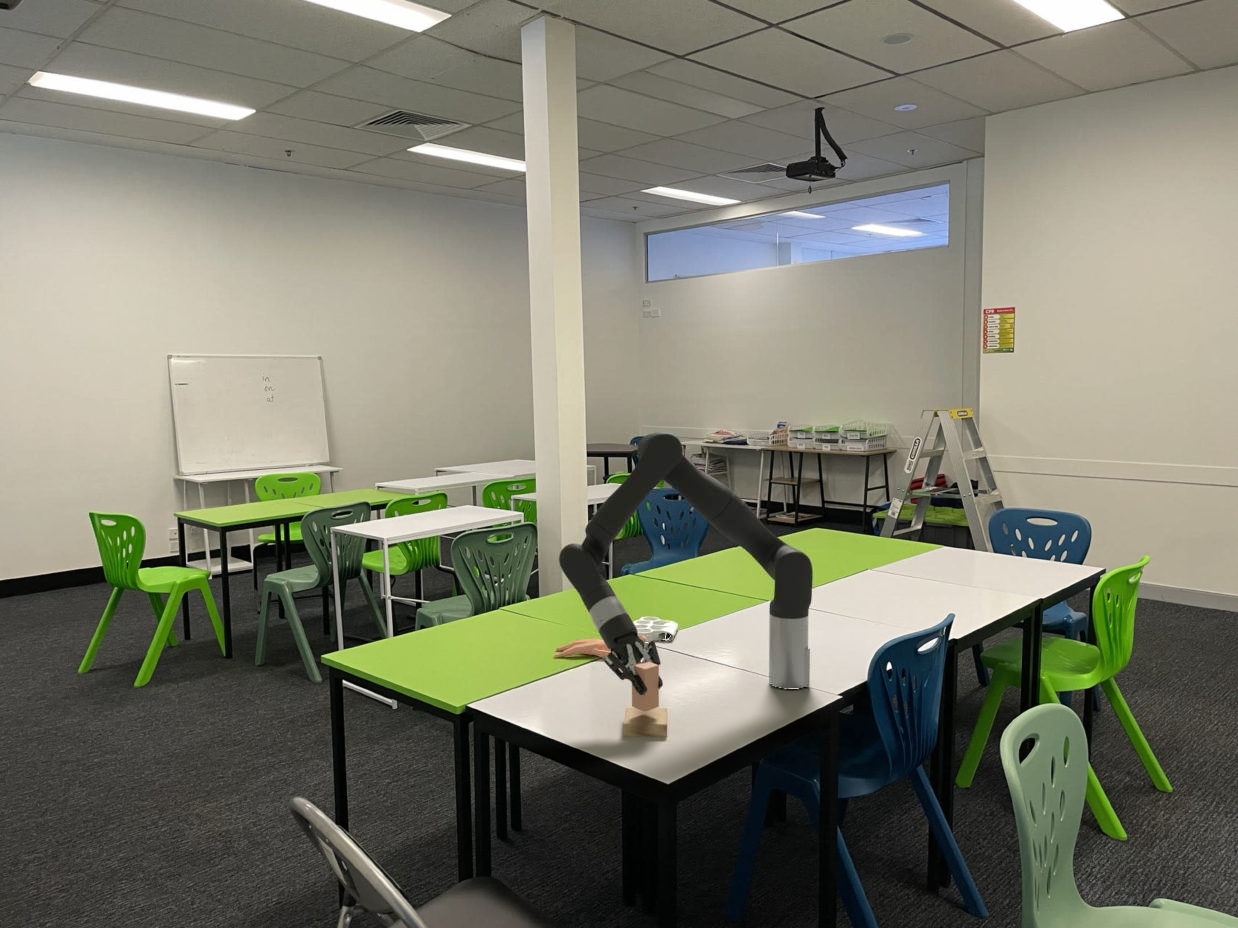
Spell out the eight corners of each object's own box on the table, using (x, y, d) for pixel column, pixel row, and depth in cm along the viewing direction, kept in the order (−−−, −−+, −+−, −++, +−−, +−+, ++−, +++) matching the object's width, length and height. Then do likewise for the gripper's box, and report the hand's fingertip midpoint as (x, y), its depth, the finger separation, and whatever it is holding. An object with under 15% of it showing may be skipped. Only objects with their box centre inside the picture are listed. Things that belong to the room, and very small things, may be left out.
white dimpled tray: (671, 646, 243) (620, 643, 246) (679, 628, 260) (632, 626, 263) (671, 634, 242) (620, 631, 245) (679, 617, 260) (632, 615, 263)
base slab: (667, 721, 187) (667, 708, 187) (667, 738, 178) (667, 724, 178) (625, 721, 188) (625, 707, 188) (623, 738, 179) (623, 723, 179)
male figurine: (556, 637, 240) (645, 629, 240) (557, 654, 241) (647, 646, 240) (552, 649, 230) (646, 640, 229) (554, 667, 230) (648, 658, 229)
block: (645, 701, 186) (645, 660, 185) (658, 706, 183) (658, 665, 182) (631, 706, 183) (631, 664, 182) (645, 711, 180) (644, 669, 179)
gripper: (596, 618, 182) (636, 689, 174) (644, 606, 191) (684, 673, 183) (580, 638, 186) (618, 708, 178) (628, 625, 196) (666, 691, 188)
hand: (651, 690), depth 181 cm, fingers closed on block, 4 cm apart
